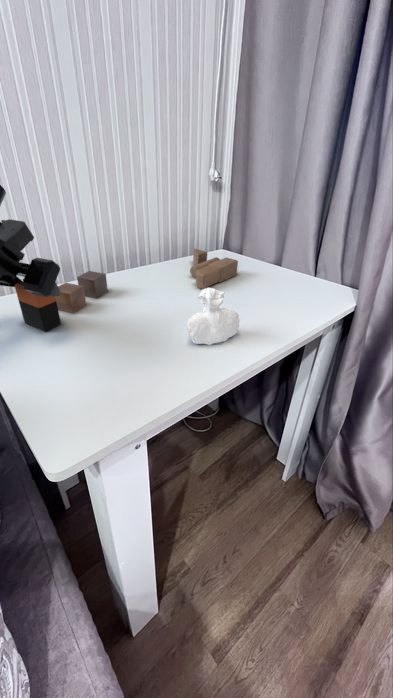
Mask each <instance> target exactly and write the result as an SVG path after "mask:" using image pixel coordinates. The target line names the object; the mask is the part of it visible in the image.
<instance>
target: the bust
mask: <svg viewBox="0 0 393 698" xmlns="http://www.w3.org/2000/svg"><path fill="white" fill-rule="evenodd" d="M225 293H226V292H225V291H220V290H217V289H216V288H214V287H206V288H204V289H201V291H200V293H199V295H198V296H197V299H198V300H199V305H203V308H202V311H200V312H196V313H194V314H193V315H192V316H191V317H189V318H188V320H187V321H186V324H185V327H186V330H187V332H188V335H189V337H190V339H191V341H192V342H193V343H194V344H198V345H207V346H211V345H213V344H219V343H222V342H226V341H228V339H230V338H232V337H234V336H235V335H236V334H237V333H238V331H239V328H240V321H241V319H240V315H239V313H238V312H237V311H236V310H234V309H230V308H227V307H222V308H220V307H221V305H222V304H224V298H225Z"/></svg>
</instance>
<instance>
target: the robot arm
mask: <svg viewBox="0 0 393 698" xmlns="http://www.w3.org/2000/svg"><path fill="white" fill-rule="evenodd" d="M6 195H7V191H6V189H5V188H4V187H3V186H2V185H1V184H0V207H1V206H2V204H3V202H4V200H5V197H6ZM34 239H35V236H34V235H33V233H32V231H31V230H30V228H29V227H28V225H27V223H26V222H25V221H22V220H16V219H1V220H0V286H2V287H10V288H15V284H17V283H20V282H23V286H24V289H25V290H27V291H28V292H31V293H32V294H35V295H39V296H45V297H47V296H59V295H60V292H61V291H60V289H59V287H58V286H59V285H58V283H57V282H56V281H57V278H58V275H59V274H60V271H61V267H60V265H59V264H58V263H56V262H55V260H52V259H47V258H43V257H36V258H33V259H31V260H30V263H26V262H21V261H23V260H24V257H25V253H24V252H23V250H24V249H25V248H26V247H27V245H28V244H29V243H30V242H33V241H34ZM20 277H24V278H23V279H24V280H23V279H21V278H20Z"/></svg>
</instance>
